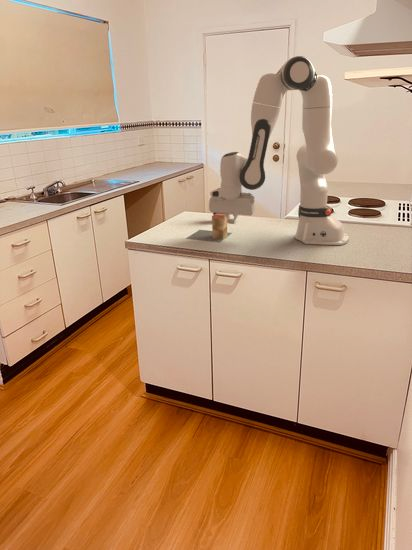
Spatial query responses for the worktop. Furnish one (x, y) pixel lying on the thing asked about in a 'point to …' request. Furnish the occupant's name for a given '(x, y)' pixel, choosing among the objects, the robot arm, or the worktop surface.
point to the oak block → (219, 226)
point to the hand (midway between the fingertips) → (231, 223)
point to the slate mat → (205, 236)
